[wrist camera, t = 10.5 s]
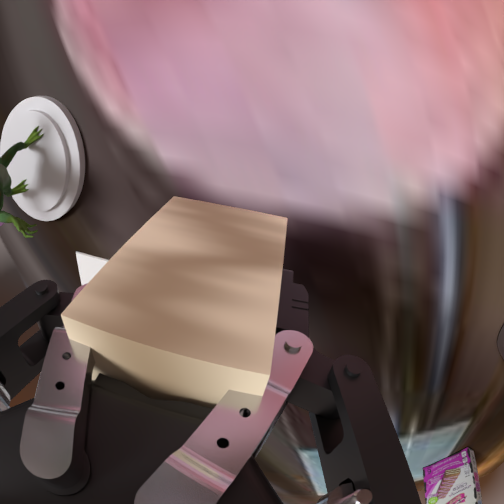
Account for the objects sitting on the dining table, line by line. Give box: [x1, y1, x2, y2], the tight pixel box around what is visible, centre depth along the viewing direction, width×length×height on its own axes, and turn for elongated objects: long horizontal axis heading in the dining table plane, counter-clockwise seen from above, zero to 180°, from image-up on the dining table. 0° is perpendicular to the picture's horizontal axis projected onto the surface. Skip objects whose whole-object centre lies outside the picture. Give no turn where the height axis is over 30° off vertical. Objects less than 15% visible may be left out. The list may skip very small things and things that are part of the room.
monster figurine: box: [0, 96, 85, 238], centre depth 17 cm, size 12×12×10 cm
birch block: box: [61, 196, 287, 409], centre depth 11 cm, size 5×5×8 cm
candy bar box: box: [423, 447, 482, 504], centre depth 33 cm, size 11×5×16 cm, turn 140°
